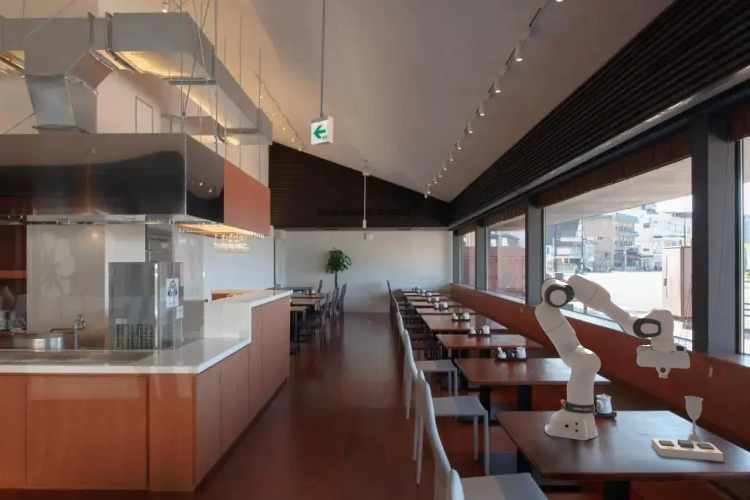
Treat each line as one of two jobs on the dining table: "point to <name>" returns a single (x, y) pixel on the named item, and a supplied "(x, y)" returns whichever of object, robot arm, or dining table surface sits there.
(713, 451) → the panel
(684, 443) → the button middle
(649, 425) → the dining table surface
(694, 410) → the chalice
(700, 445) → the button right
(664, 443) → the button left
